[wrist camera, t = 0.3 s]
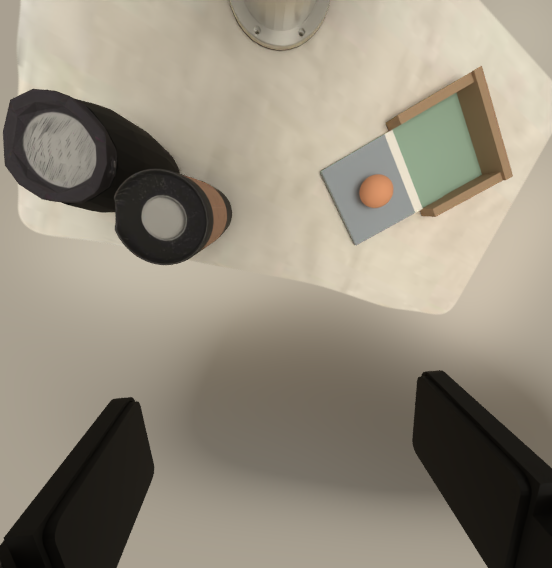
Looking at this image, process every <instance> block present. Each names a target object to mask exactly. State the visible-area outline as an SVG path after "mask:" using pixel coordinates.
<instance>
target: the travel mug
mask: <svg viewBox="0 0 552 568" xmlns="http://www.w3.org/2000/svg"><path fill="white" fill-rule="evenodd" d="M114 200H115V212H116V225H115V231H116V233H117V235H118V237H119V239H120V240H121V241H122V243H123V244H124V245H125V246H126V247H127V249H129V250H130V251H131V252H132V253H133V254H134V255H136V256H137V257H139V258H141V259H143V260H145V261H147V262H150V263H154V264H159V265H173V264H178V263H181V262H183V261H186V260H188V259H190V258H191V257H193V256H194V255H195V254H197V253H198V252H200V251H201V250H203V249H204V248H205V247H207V246H208V245H210V244H211V243H213V242H214V241H215V240H217V239H218V238H219V237H220V236H221V235H222V233H223V232H224V231H225V230H226V229H227V228H228V226H229V224H230V222H231V218H232V209H231V205H230V203H229V201H228V199H227V198H226V196H225V195H224V194H223V193H222V192H220V191H219V190H217V189H216V188H214V187H212V186H211V185H209V184H207V183H205V182H202V181H199V180H196V179H193V178H190V177H187V176H184V175H182V174H179V173H176V172H173V171H170V170H165V169H147V170H142V171H140V172H137V173H135V174H133V175H131V176H130V177H129V178H127V179H126V180H125V181H124V182H123V183H122V184H121V185H120V187H119V188H118V190H117V191H116V193H115V195H114Z"/></svg>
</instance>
